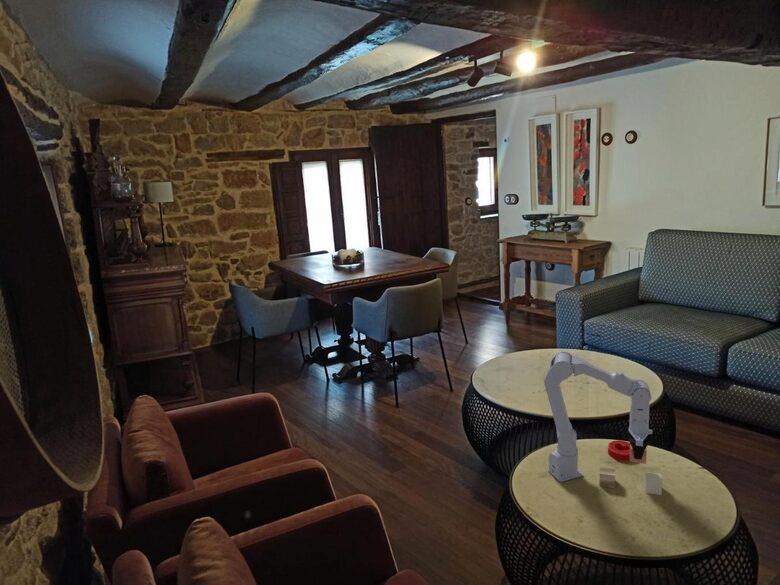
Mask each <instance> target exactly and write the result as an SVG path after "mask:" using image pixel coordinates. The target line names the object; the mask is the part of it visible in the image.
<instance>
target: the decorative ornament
mask: <svg viewBox="0 0 780 585" xmlns="http://www.w3.org/2000/svg"><path fill="white" fill-rule="evenodd" d="M607 455H608V456H609V457H611V458H612V459H614V460H617V461H621V462H630V441H629V442H628V441H626V440H617V439H616V440H613V441H610V442H609V443H608V445H607Z"/></svg>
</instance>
